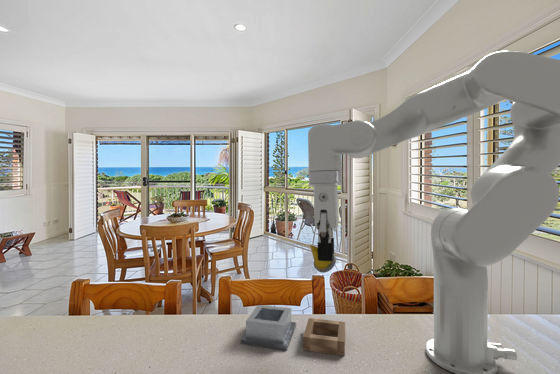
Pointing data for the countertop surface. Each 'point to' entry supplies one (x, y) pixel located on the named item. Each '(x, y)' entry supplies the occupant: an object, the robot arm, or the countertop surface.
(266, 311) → the grey hollow square block
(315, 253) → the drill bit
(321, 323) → the socket block
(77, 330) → the countertop surface
